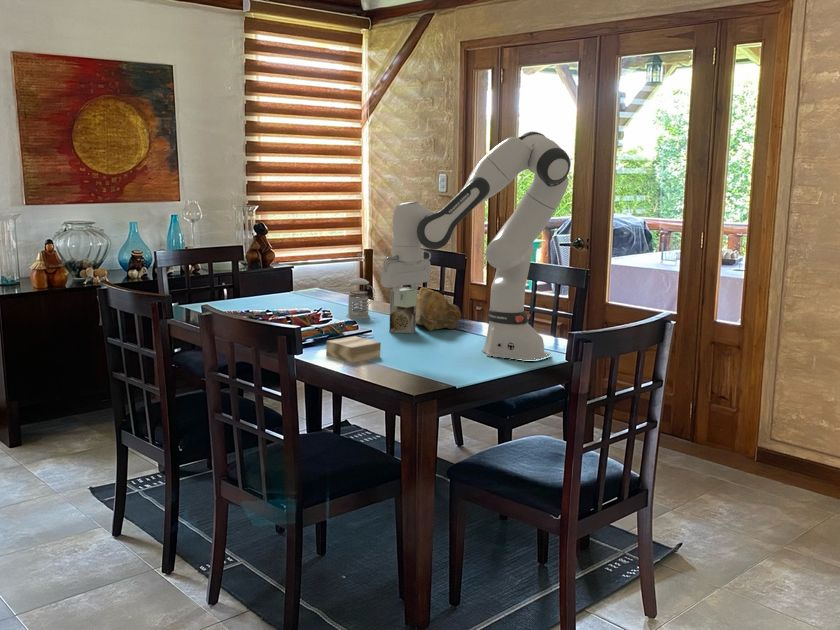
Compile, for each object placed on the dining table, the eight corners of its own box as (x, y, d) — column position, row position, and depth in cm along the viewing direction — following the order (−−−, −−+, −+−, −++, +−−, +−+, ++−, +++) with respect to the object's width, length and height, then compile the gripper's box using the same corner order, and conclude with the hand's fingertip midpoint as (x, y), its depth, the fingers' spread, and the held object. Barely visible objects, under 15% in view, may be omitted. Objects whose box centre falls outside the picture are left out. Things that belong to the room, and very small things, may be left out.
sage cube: (416, 305, 257) (416, 289, 256) (406, 307, 253) (406, 291, 252) (404, 303, 260) (404, 288, 259) (393, 305, 256) (394, 289, 255)
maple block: (380, 358, 259) (380, 342, 258) (351, 363, 251) (351, 347, 250) (354, 351, 267) (355, 336, 266) (326, 356, 259) (326, 340, 258)
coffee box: (415, 330, 302) (417, 287, 299) (413, 334, 296) (415, 289, 293) (391, 329, 303) (392, 285, 300) (388, 332, 296) (390, 288, 294)
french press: (342, 314, 327) (343, 252, 323) (369, 313, 332) (371, 251, 327) (350, 319, 318) (352, 254, 314) (378, 317, 323) (380, 254, 319)
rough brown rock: (464, 336, 299) (469, 295, 297) (419, 332, 296) (424, 291, 294) (452, 325, 322) (457, 288, 320) (410, 321, 319) (415, 283, 317)
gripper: (392, 257, 244) (391, 303, 246) (434, 253, 259) (433, 296, 262) (376, 256, 248) (375, 301, 250) (418, 251, 263) (418, 294, 266)
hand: (405, 298), depth 256 cm, fingers closed on sage cube, 5 cm apart
